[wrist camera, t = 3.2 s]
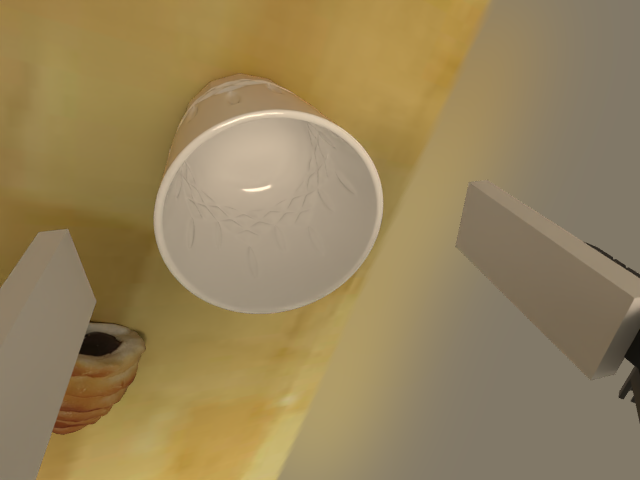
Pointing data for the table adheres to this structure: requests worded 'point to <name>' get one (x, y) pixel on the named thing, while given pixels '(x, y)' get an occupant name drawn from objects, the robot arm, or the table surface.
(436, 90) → the table surface
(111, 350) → the pastry
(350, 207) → the white cup
